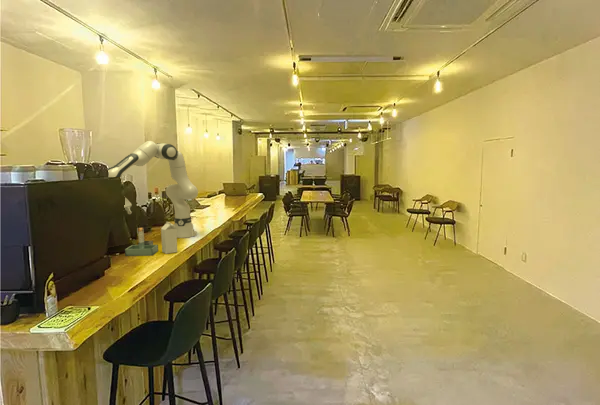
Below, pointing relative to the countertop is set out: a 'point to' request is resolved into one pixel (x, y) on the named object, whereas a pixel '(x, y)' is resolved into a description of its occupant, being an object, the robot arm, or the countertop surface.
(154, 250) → the tray
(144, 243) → the socket block
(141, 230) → the lock pin
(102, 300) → the countertop surface
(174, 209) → the robot arm
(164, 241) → the milk carton
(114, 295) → the countertop surface
